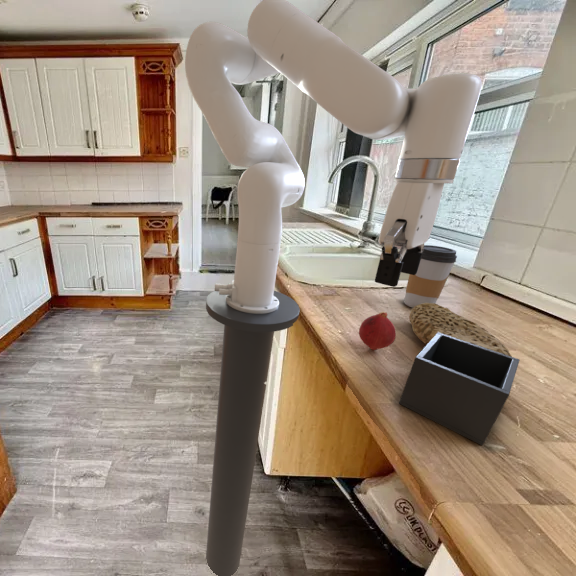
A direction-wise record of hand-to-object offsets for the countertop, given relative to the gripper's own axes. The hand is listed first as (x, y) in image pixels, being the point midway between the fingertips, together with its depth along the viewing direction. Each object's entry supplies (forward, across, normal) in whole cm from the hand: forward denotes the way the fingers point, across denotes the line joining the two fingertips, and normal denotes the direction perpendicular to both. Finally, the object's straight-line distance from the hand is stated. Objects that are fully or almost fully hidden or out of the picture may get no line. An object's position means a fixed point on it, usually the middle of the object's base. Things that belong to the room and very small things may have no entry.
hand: (396, 278), depth 53 cm
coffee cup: (+15, -32, -2) cm, 35 cm away
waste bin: (+15, +7, +12) cm, 21 cm away
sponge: (+15, -12, +8) cm, 21 cm away
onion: (+15, 0, -1) cm, 15 cm away
